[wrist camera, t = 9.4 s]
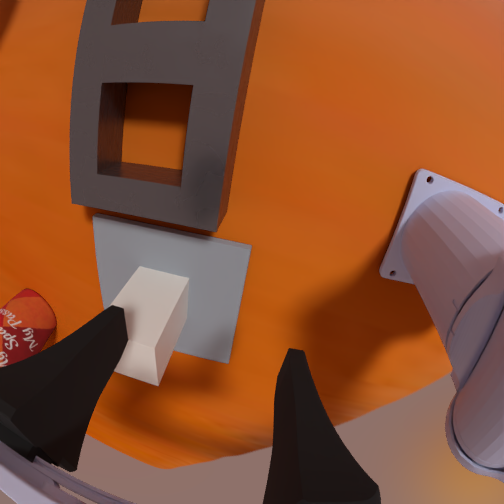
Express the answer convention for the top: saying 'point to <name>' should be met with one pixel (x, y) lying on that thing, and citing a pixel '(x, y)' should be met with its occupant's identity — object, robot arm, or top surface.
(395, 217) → the top surface
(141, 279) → the ivory plug
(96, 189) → the metal frame
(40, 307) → the coffee cup
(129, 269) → the rubber pad
